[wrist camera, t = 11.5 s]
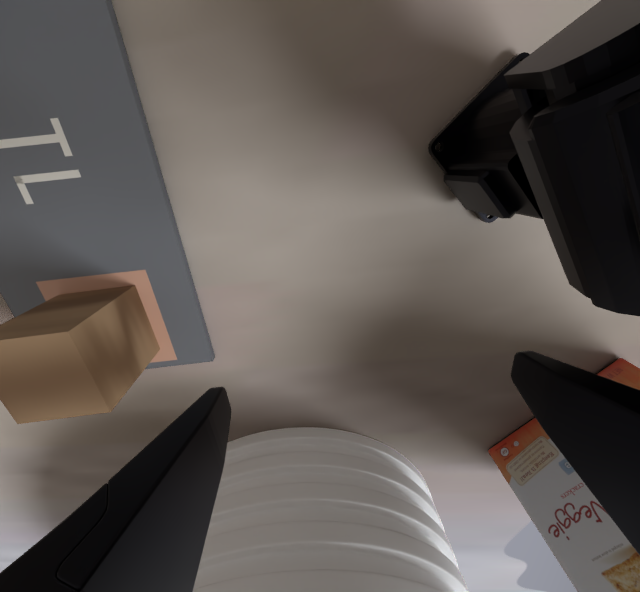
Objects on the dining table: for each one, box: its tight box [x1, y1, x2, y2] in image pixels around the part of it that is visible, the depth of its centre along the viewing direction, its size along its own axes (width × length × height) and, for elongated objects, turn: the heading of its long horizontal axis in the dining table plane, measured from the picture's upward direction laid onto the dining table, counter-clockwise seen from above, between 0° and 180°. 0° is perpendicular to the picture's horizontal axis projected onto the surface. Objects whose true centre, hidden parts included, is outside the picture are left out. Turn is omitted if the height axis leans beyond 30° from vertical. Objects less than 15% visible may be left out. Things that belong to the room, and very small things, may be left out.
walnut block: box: [0, 285, 160, 424], centre depth 18 cm, size 5×5×6 cm
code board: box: [0, 0, 215, 369], centre depth 17 cm, size 28×12×1 cm, turn 6°
